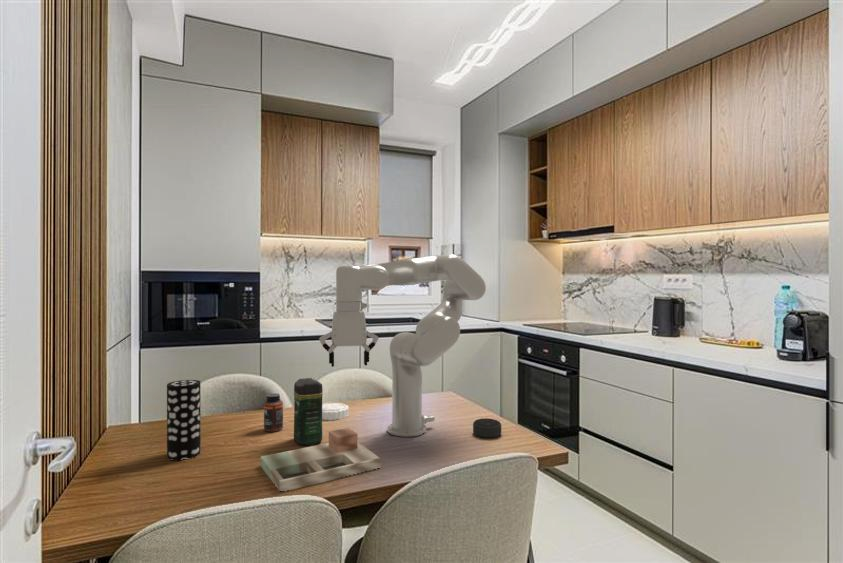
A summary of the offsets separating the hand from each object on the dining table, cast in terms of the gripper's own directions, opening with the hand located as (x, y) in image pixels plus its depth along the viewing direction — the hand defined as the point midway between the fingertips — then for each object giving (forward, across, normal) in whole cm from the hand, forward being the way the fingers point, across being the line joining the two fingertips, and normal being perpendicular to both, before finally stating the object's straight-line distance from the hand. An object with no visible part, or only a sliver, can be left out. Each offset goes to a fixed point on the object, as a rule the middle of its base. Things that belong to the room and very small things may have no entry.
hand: (349, 365), depth 140 cm
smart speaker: (+24, -43, -1) cm, 49 cm away
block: (+21, +2, +9) cm, 23 cm away
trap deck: (+23, +8, +16) cm, 29 cm away
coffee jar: (+24, +12, -5) cm, 27 cm away
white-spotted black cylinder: (+23, +45, 0) cm, 51 cm away
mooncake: (+24, +5, -30) cm, 39 cm away
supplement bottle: (+24, +24, -18) cm, 38 cm away
